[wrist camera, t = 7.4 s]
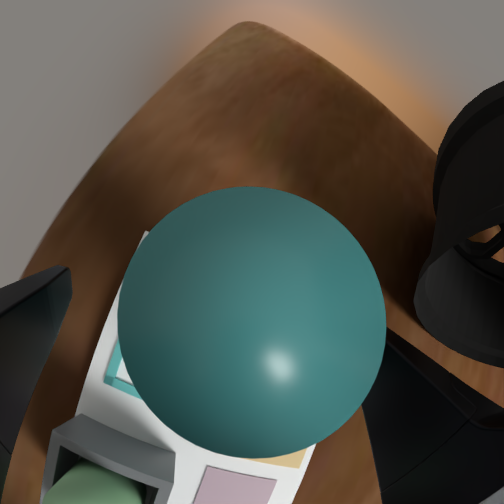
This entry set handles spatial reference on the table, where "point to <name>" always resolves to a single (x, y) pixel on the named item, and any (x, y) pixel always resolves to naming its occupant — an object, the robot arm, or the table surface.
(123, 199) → the table surface
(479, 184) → the car wheel rim
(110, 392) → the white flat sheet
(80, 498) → the button
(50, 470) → the button housing
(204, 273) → the teal round-topped cylinder
